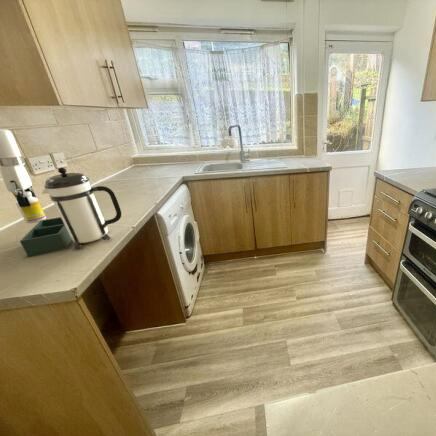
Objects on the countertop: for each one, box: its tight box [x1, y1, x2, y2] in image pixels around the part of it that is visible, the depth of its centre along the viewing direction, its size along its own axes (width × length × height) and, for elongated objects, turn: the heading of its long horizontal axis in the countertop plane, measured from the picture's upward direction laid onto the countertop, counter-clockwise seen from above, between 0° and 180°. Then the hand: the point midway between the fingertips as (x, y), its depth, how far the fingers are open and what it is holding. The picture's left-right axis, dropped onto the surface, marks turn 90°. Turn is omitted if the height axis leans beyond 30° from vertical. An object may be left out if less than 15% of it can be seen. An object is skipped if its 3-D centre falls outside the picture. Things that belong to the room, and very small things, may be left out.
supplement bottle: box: [15, 191, 47, 224], centre depth 105 cm, size 7×7×13 cm
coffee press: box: [41, 167, 122, 250], centre depth 95 cm, size 17×16×30 cm
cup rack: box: [19, 216, 72, 257], centre depth 100 cm, size 11×21×6 cm, turn 29°
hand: (29, 203), depth 105 cm, fingers closed on supplement bottle, 6 cm apart
